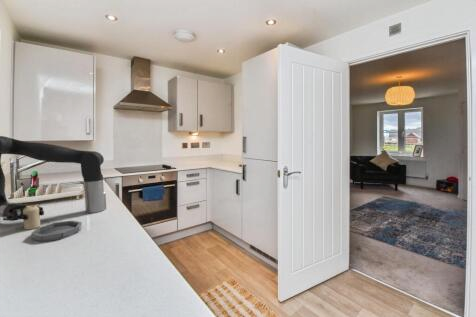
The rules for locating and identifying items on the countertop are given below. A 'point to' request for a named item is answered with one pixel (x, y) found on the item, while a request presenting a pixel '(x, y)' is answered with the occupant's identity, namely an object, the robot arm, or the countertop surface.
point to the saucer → (56, 231)
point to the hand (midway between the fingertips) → (34, 215)
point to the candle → (32, 217)
